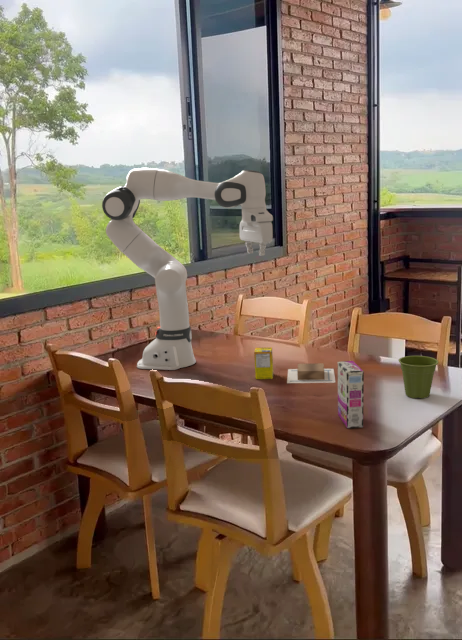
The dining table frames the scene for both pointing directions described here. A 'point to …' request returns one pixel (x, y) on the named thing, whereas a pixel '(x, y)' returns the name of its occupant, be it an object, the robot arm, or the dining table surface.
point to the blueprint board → (328, 378)
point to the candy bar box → (350, 394)
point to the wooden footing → (310, 371)
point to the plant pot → (418, 375)
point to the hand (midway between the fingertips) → (256, 254)
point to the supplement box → (263, 363)
